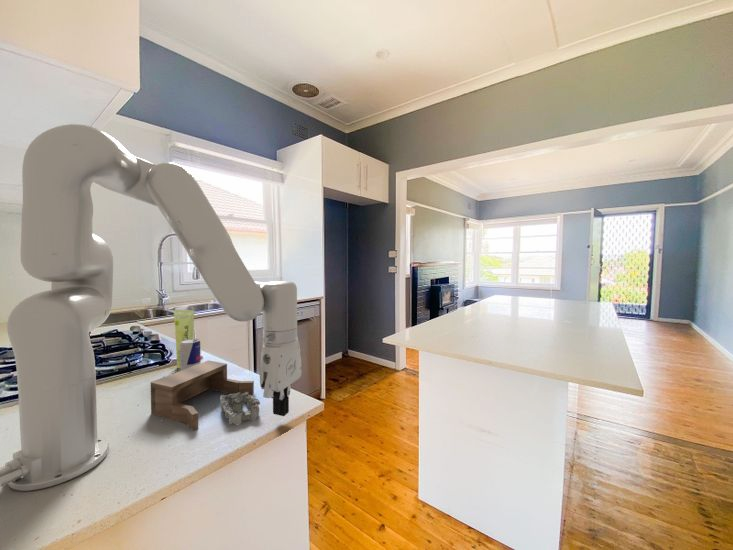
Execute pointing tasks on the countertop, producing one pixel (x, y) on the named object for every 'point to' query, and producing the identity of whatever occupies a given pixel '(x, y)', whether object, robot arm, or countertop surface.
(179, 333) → the tube
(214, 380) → the walnut garage
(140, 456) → the countertop surface
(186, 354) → the energy drink
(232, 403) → the grey holed block
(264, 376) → the robot arm
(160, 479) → the countertop surface
